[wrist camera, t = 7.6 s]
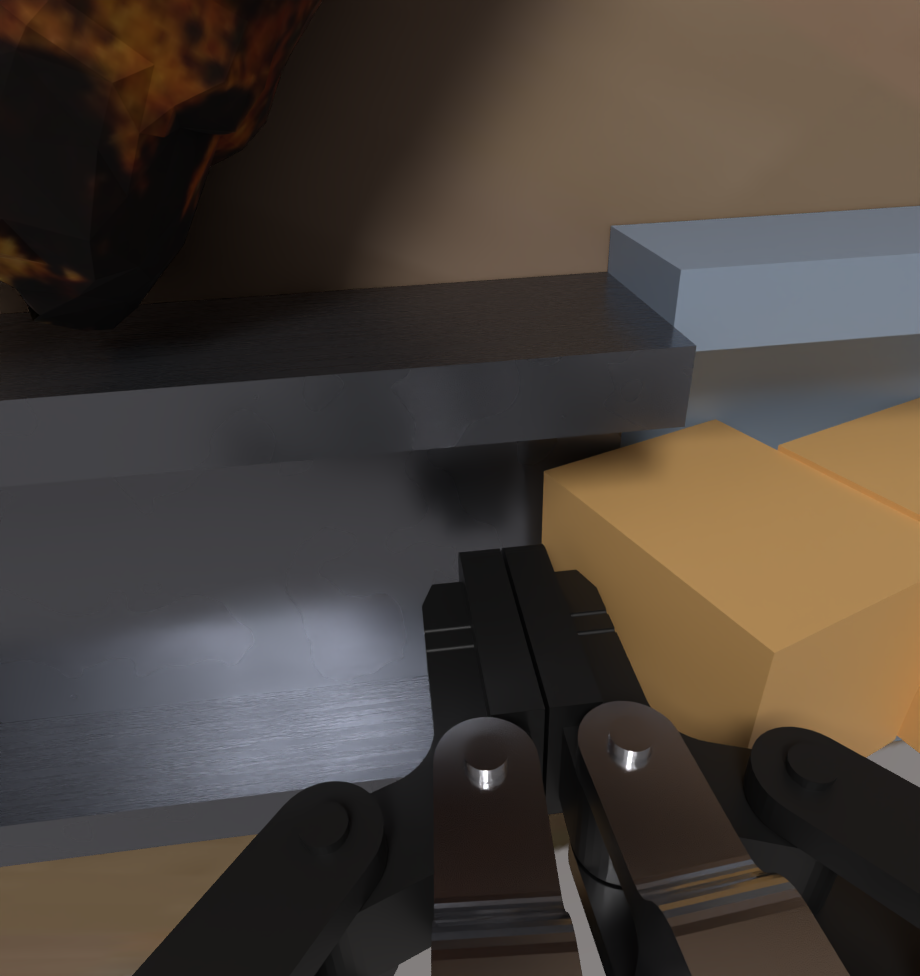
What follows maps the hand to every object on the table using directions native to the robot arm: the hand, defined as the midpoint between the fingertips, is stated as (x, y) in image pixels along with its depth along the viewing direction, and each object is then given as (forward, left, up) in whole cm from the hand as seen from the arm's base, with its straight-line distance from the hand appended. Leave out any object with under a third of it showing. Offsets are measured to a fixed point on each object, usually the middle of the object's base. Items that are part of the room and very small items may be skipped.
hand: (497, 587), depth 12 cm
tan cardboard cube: (-3, 0, -2) cm, 3 cm away
